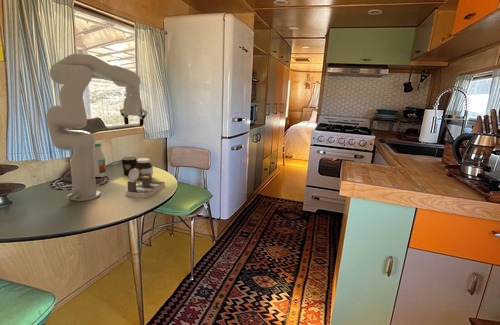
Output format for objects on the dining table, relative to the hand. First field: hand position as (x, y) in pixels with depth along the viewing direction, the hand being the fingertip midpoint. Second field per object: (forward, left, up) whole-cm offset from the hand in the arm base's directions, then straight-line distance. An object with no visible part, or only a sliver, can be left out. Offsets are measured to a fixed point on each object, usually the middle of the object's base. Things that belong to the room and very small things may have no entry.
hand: (134, 124), depth 164 cm
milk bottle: (-14, +16, -31) cm, 37 cm away
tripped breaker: (-28, -22, -28) cm, 45 cm away
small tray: (-28, -22, -30) cm, 47 cm away
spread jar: (-11, -9, -31) cm, 34 cm away
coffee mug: (-4, +1, -31) cm, 31 cm away
